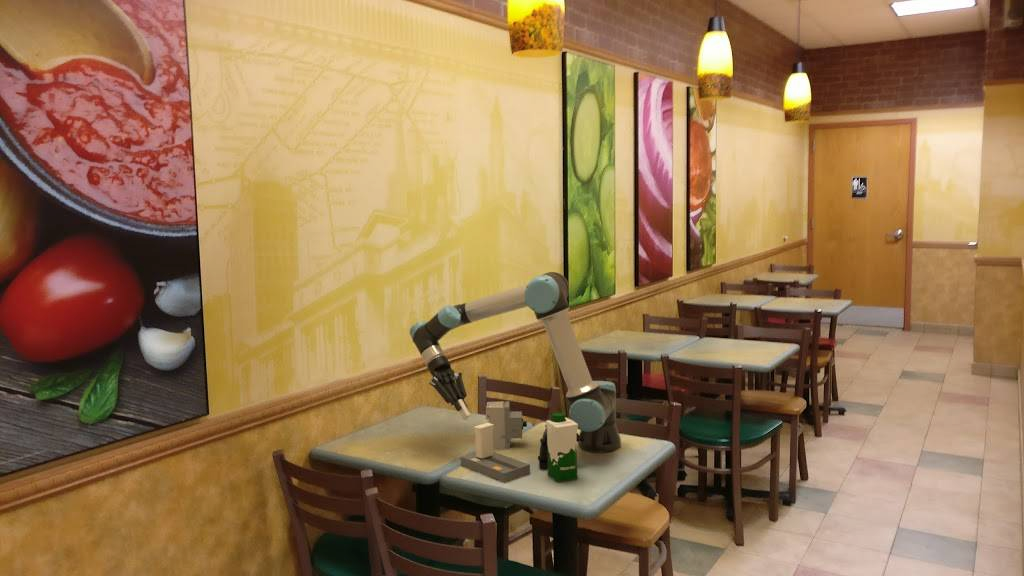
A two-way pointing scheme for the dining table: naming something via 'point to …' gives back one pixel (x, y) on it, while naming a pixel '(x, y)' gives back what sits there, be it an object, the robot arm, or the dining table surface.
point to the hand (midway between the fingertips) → (466, 417)
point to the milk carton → (562, 448)
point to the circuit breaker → (504, 423)
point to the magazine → (545, 451)
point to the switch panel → (496, 466)
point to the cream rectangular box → (484, 440)
